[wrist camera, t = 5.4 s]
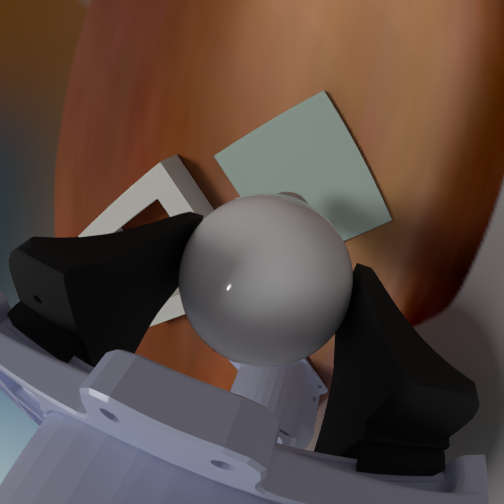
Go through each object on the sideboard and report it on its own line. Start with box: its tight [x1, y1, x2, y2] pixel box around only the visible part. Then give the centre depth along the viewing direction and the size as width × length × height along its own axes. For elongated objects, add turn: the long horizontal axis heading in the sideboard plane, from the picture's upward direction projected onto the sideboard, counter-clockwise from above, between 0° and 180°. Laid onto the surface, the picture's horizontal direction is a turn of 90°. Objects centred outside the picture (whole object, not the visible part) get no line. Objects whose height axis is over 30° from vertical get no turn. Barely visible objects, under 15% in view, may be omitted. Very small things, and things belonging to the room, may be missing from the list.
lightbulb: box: [178, 192, 353, 368], centre depth 13 cm, size 6×6×11 cm
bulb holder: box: [78, 154, 214, 327], centre depth 26 cm, size 12×14×2 cm
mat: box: [214, 91, 392, 241], centre depth 20 cm, size 10×9×1 cm
